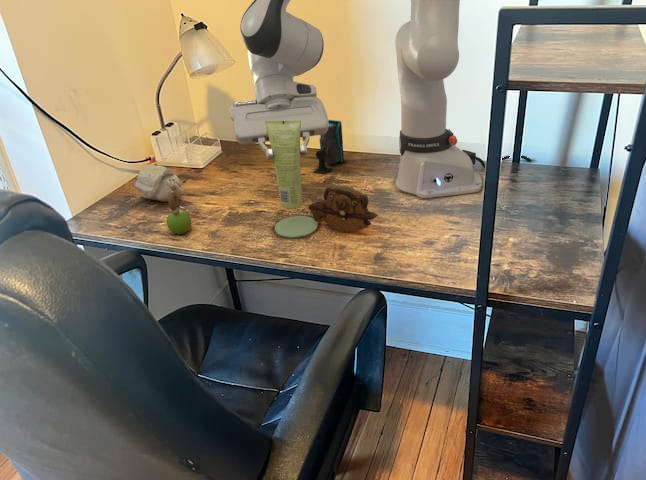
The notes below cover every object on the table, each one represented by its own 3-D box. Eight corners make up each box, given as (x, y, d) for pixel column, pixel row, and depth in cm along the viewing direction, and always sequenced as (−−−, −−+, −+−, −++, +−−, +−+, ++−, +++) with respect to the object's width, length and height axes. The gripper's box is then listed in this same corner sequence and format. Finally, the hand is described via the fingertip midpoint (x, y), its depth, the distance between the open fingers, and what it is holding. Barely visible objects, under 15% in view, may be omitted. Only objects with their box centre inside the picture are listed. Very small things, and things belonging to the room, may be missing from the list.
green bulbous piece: (195, 223, 128) (183, 176, 122) (192, 236, 123) (180, 188, 117) (172, 226, 128) (159, 179, 121) (168, 239, 123) (154, 191, 116)
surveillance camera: (306, 130, 145) (324, 119, 153) (310, 171, 152) (328, 159, 159) (324, 132, 143) (342, 121, 150) (328, 174, 150) (344, 161, 157)
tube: (297, 197, 125) (287, 114, 114) (309, 204, 121) (300, 119, 111) (276, 205, 122) (264, 120, 111) (288, 212, 118) (277, 125, 108)
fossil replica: (177, 206, 137) (189, 192, 146) (173, 175, 133) (185, 163, 142) (130, 204, 137) (145, 191, 146) (125, 173, 133) (140, 161, 142)
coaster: (319, 216, 128) (319, 215, 128) (315, 237, 120) (315, 235, 120) (278, 218, 129) (277, 216, 129) (271, 238, 120) (271, 237, 120)
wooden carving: (306, 228, 123) (302, 188, 117) (314, 219, 126) (311, 180, 121) (374, 240, 118) (374, 199, 112) (380, 230, 122) (380, 190, 116)
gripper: (226, 95, 112) (237, 156, 109) (322, 85, 116) (334, 143, 113) (229, 110, 118) (239, 168, 116) (320, 100, 122) (332, 156, 119)
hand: (287, 156), depth 114 cm, fingers closed on tube, 6 cm apart
